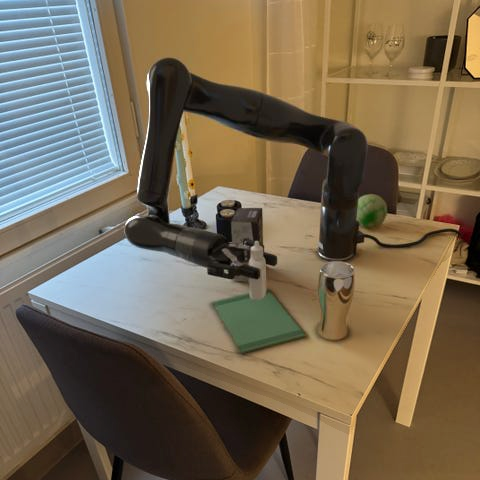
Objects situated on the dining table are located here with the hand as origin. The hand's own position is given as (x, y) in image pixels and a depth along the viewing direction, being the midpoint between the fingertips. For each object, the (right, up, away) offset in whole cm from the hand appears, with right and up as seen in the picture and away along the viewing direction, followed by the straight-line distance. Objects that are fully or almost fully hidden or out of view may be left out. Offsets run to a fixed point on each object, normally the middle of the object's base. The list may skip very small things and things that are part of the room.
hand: (267, 267), depth 91 cm
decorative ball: (+33, +17, +47) cm, 60 cm away
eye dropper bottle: (-2, -5, +5) cm, 8 cm away
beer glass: (+14, -13, +6) cm, 20 cm away
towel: (-2, -10, +11) cm, 15 cm away
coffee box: (-3, +2, +28) cm, 29 cm away
